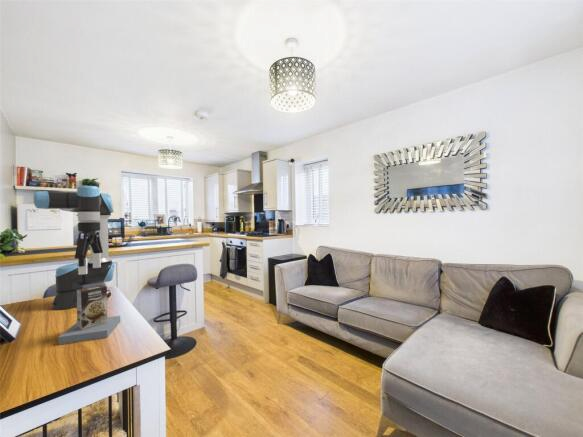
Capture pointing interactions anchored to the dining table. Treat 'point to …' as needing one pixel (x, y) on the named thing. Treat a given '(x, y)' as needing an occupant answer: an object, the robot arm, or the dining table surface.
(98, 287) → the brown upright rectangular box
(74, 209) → the robot arm
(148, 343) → the dining table surface
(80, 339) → the base board
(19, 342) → the dining table surface
